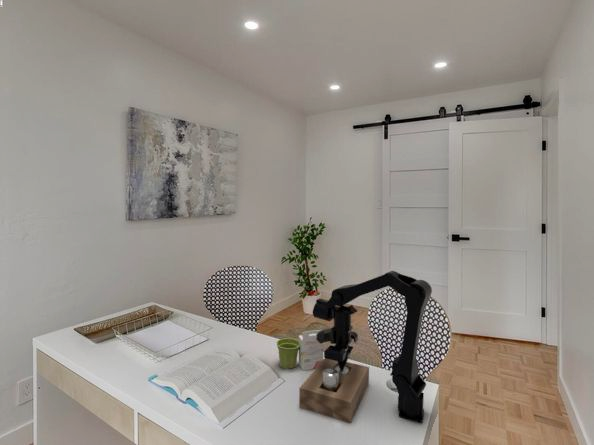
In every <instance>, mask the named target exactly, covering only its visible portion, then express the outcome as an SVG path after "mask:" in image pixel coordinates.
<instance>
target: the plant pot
mask: <svg viewBox="0 0 594 445" xmlns="http://www.w3.org/2000/svg"><path fill="white" fill-rule="evenodd" d="M276 346H277V349H278V359H279V366H280V367H282V369H288V370H289V369H292V368H295V367H296V365H297V359H298V355H299V347H300V345H299V339H296V338H292V337H285V338H284V337H283V338H280V339H278V340H276Z"/></svg>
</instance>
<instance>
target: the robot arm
mask: <svg viewBox="0 0 594 445" xmlns="http://www.w3.org/2000/svg"><path fill="white" fill-rule="evenodd" d="M387 287H389V288H391V289H393V290H394V291H395V292H396V293H397V294H399V295H400V296H403V297H404V304H405V308H406V318H405V324H404V325H405V326H404V332H403V338H402V344H401V345H402V346H401V353H400V355H398V356H397V357H396V358H395V359H394V360H393V361H392V364H391V367H392V368H391V373H390V376H392V377H391V380H392V383H393V384H394V386H395V387H396V390H397V394H398V397H397V411H398V416H399V417H400V418H403V419H406V420H411V421H413V422H418V423H421V424H422V423H423V422H424V413H425V408H424V402H425V401H424V398H425V393H424V392H423V391H424V390H425V388H426V385H427V383H426V382H425V380H424V379H423V378H422V377H421V374H419V364H418V359H417V354H418V349H419V342H420V336H421V329H422V328H421V327H422V322H423V317H424V316H423V315H424V312H425V309H426V308H427V305H428V303H429V300H430V299H431V297H432V296H431V295H432V292H433V289H432V286H431V285H430V284H429V282H427V281H426V280H424V279H416V278H414V277H412V276H408V275H405V274H402V273H400V272H398V271H395V270H391V271H390V270H389V271H388V272H386V273H384V274H382V275H379V276H377V277H374V278H371V279H367V280H366V281H363V282H360V283H355V284H353V283H352V284H347V285H343V286H340V287H337V288H335V289H334V290H332V291H331V294H330V295H331V296H330V298H329V299H328V300H326V299H323V298H317V299H316V300H315V301H316V302H315V304H314V306H313V309H312V316H313V318H315V319H319V320H323V321H326V322H331V321H332V320H333V326H332V327H330V328H325V329H320V330H321V331H320V332H318V334H317V335H316V336H317V338H316V340H317V341H318V342H320V344H321V343H323V344H324V343H327V342H330V344H333V345H329V346H328V347H327V348H326V349H325V350H323V359H324V358H326V359H330V360H335V361H338V364H339V368H340V370H343V369H344V367H345V365H346V363H347V362H348V361H349V358H350V356H351V353H352V352H353V349H354V347H353V346H352V345H350V344H352V342H354V344H355V343H357V342H358V341H359V335H358V333H357V332H355V331H352V330H353V325H352V315H354V314H355V313H357V312H358V310H357V309H356V308H355V307H354V305H353V304H350V305H349V306H346V305H347V304H349V303H351V302H352V301H354V300H355V299H357V298H359V297H361V296H364V295H366V294H369V293H373V292H375V291H379V290H381V289H385V288H387Z"/></svg>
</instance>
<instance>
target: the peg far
mask: <svg viewBox="0 0 594 445" xmlns="http://www.w3.org/2000/svg"><path fill="white" fill-rule="evenodd" d="M335 370H336V371H338V373H341V374H345V375H348V373H349V369H348V368H347V367H346V366H345V367H344V369H343V370H340V368H339V366H336V367H335Z"/></svg>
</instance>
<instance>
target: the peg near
mask: <svg viewBox="0 0 594 445" xmlns="http://www.w3.org/2000/svg"><path fill="white" fill-rule="evenodd" d="M338 379H339V373H338V371H336V370H334V369H326V370H324V371H323V389H325V390H328V391H332V392H337V391H338Z"/></svg>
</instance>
